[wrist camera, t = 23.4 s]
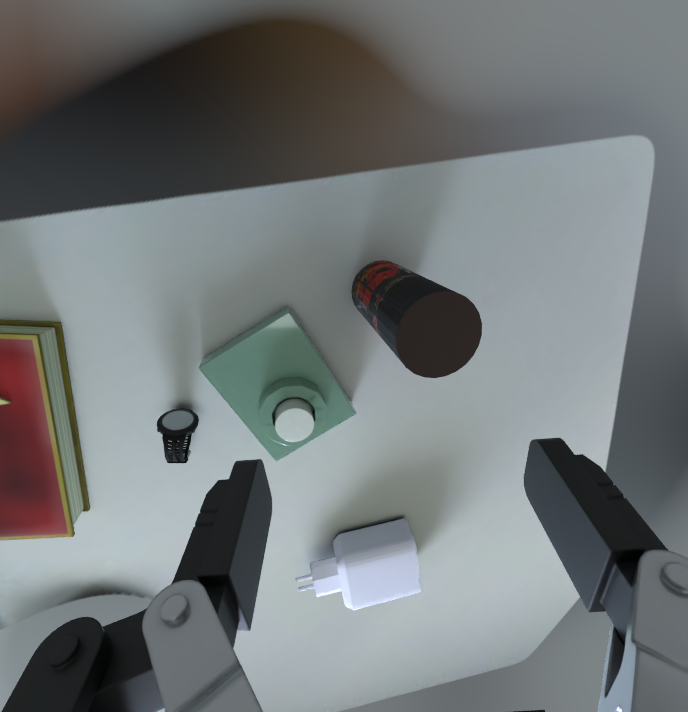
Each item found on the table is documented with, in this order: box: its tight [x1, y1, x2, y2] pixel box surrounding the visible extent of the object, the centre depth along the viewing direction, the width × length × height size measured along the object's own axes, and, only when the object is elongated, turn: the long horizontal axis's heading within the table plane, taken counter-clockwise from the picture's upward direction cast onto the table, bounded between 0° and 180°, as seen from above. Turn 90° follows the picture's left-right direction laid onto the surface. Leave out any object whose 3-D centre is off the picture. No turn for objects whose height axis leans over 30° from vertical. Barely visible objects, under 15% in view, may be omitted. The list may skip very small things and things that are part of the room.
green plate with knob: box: [199, 306, 356, 461], centre depth 39 cm, size 13×10×4 cm
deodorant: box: [352, 261, 482, 378], centre depth 32 cm, size 6×6×15 cm
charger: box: [296, 518, 420, 610], centre depth 49 cm, size 5×9×15 cm
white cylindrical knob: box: [275, 398, 314, 442], centre depth 37 cm, size 4×4×2 cm
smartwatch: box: [157, 409, 199, 463], centre depth 38 cm, size 4×5×5 cm
